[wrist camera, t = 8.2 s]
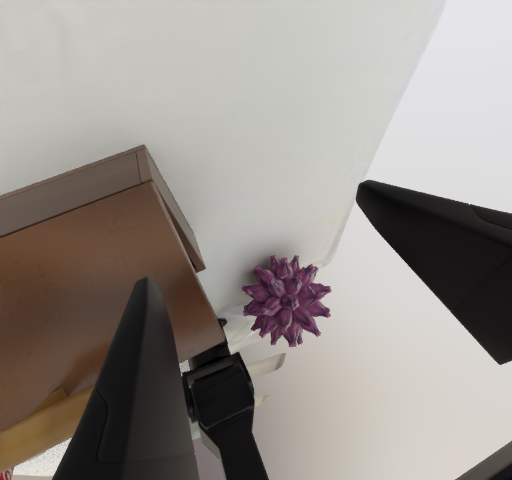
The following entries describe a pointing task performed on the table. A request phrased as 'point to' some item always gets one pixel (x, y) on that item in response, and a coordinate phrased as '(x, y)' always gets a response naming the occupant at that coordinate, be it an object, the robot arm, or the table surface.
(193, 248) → the box
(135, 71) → the table surface
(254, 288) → the purple spiky ball
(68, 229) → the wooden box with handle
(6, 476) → the soda can
